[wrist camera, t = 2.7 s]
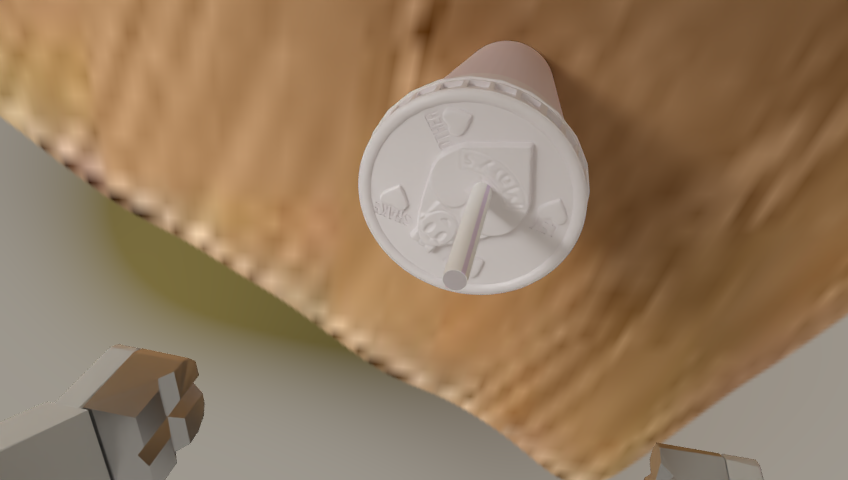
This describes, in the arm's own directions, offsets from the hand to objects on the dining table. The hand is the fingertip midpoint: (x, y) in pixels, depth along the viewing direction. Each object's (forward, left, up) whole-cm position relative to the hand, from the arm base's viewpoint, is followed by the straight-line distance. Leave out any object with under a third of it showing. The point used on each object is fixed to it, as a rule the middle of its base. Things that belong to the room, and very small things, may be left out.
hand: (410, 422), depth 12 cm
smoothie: (0, 0, -18) cm, 18 cm away
